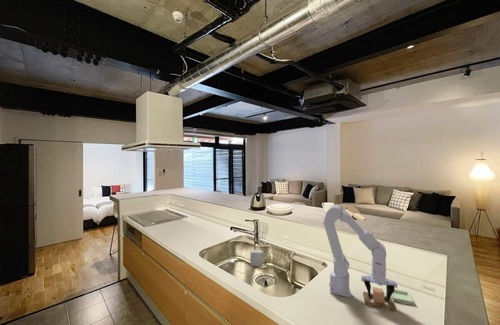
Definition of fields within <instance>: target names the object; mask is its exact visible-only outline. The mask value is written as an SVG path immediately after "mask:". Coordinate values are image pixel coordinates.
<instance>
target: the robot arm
mask: <svg viewBox="0 0 500 325" xmlns="http://www.w3.org/2000/svg"><path fill="white" fill-rule="evenodd" d="M338 220H339V221H340V222H344V223H346V224H347V225H348V226H349V227H350V228H351V229H352V230H353V231H354V232H355V233H356V234H357V235H358V239H359V240H360V242H361V243H362V244H363V245H364V246H365V247H366V248H367V249H368V250H369V251H371V275H361V276H360V279H361V282H363V283H364V285H365V288H366V290H367V292H368V296H369V299H371V293H372V292H371V291H372V290H371V289H372V285H371V284H377V285H378V286H381V287H383V286H385V288H386V292H385V296H386V300H387V301H386V303H387V302H389V300H390V297H391V295H392V294H393V292H394V291H395V289H397V288H398V282H397V281H395V280H391V279H388V278H387V276H386V275H387V262H386V259H387V249H386V247H385V246H384V244H383V243H382V242H380V241H379V240H377V239H376V238H375V237H374V236H373V235H374V234H373V232H370V231H368V230H365V229H363V227H361V225H360V224H359V223H358V222H357V221H356V220H355V219H354V218H353V216H352V215H351V214H350V213H349V212H348V210H346V209H345V208H344V207H343V206H342V205H340V204H333V205H332V206H331V207H330V208H329V209H328V210H327V211H326V212H325V216H324V219H323V226H324V229H325V231H326V232H325V233H326V236H327V239H328V242H329V246H330V249H331V253H332V257H333V259H332V260H333V271H330V272H329V273H330V274H329V281H330V282H329V293H330V294H333V295H337V296H342V297H347V298H351V290H350V273H349V272H348V271H349V269H350V262H349V261H348V259H347V258H346V255H345V254H344V252H343V249H342V245H341V242H340V238H339V236H338V233H337V229H336V226H335V223H336V221H338ZM391 298H392V297H391Z"/></svg>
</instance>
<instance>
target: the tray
mask: <svg viewBox="0 0 500 325" xmlns="http://www.w3.org/2000/svg"><path fill="white" fill-rule="evenodd" d="M394 289H395V291H394V292H393V294H392V295H391V298H392V301H393V302H396V303H401V304H405V305H410V306H411V305H412V306H415V301H414V300H413V297H412V296H411V294H410V293H409V291H407V290H402V289H401V290H400V289H397V288H394Z"/></svg>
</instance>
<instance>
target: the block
mask: <svg viewBox="0 0 500 325" xmlns="http://www.w3.org/2000/svg"><path fill="white" fill-rule="evenodd" d="M372 293H373V298H372V302H376V303H380V304H385V300H384V296H385V292H384V290H383V288H380V287H374V286H372Z"/></svg>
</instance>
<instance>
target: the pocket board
mask: <svg viewBox="0 0 500 325" xmlns="http://www.w3.org/2000/svg"><path fill="white" fill-rule="evenodd" d="M370 293H371V298H372V299H373V292H370ZM362 296H363V300H364V305H365V306H369V307H373V308H377V309H383V310H387V311H392V312H394V313H395V312H396V305H395V303H394V301H393V299H392V297H390V300H389V302H387V300H386V295H384V302H385V301H386V303H387V304H385V303H384V304H380V303H376V302H374V301H372V300H371V301H370V299H371V298H369V296H368V291H367V292H366V291H362Z"/></svg>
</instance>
